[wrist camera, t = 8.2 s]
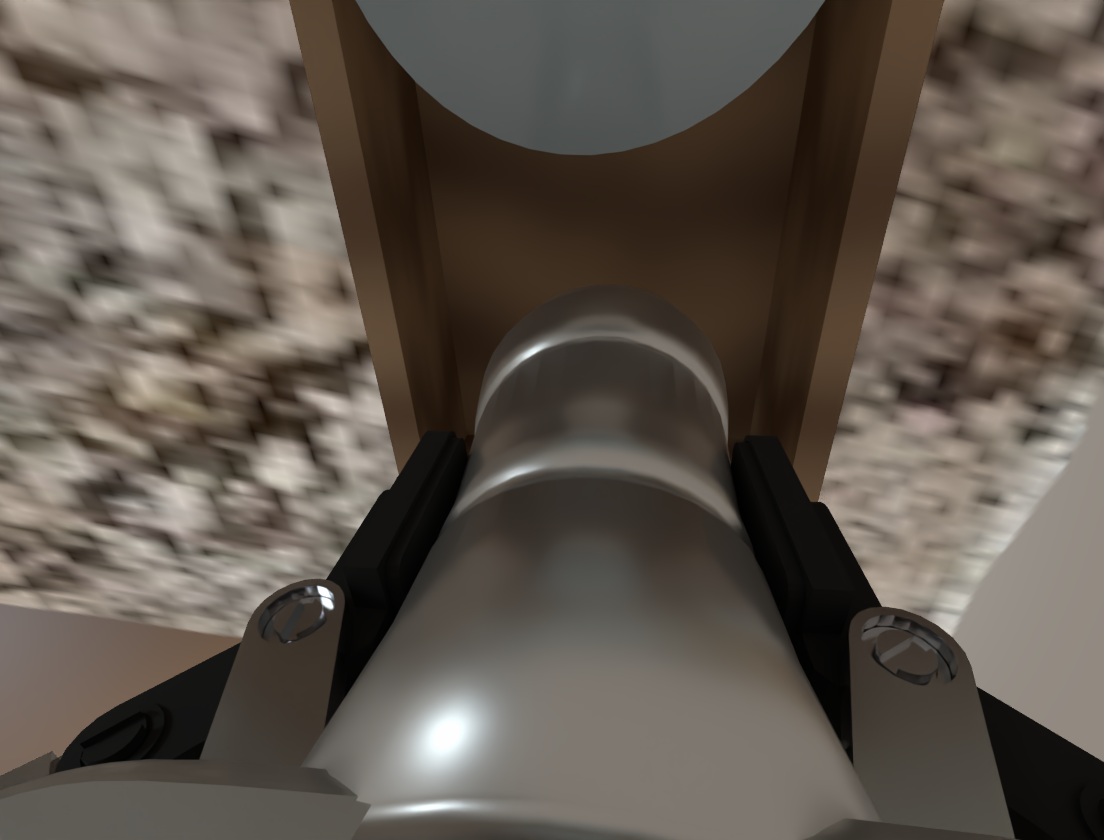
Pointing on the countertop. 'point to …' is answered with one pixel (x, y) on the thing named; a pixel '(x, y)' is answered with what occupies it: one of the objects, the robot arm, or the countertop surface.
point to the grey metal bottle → (592, 617)
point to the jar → (586, 62)
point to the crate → (627, 220)
